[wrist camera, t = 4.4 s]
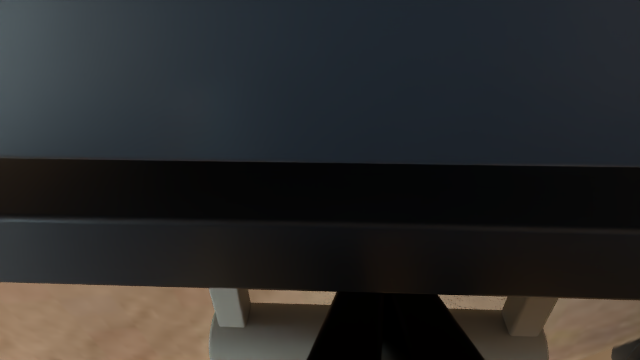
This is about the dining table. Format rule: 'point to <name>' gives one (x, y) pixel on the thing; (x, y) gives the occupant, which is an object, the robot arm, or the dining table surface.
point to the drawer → (328, 239)
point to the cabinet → (322, 81)
